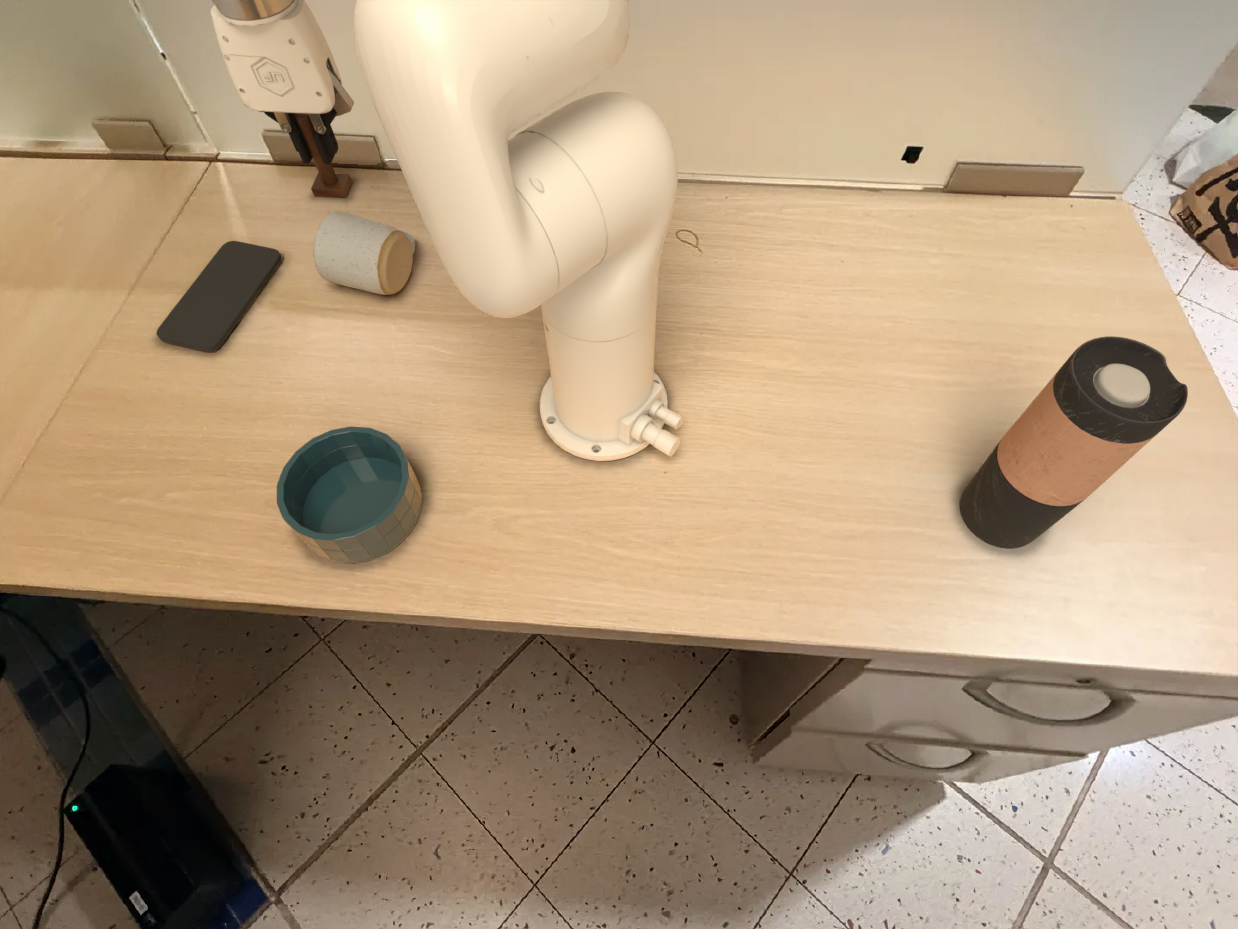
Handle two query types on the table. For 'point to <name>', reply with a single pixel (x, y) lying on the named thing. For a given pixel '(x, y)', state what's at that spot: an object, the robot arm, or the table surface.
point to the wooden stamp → (323, 166)
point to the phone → (219, 296)
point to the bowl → (350, 494)
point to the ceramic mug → (363, 253)
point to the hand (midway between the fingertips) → (320, 155)
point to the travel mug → (1072, 439)
